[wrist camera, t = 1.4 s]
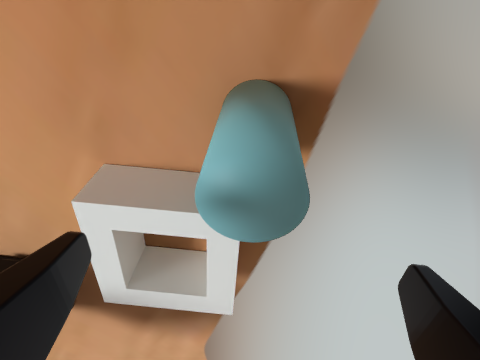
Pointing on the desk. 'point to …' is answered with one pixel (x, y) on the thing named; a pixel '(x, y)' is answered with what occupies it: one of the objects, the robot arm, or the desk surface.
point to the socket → (148, 257)
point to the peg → (253, 167)
